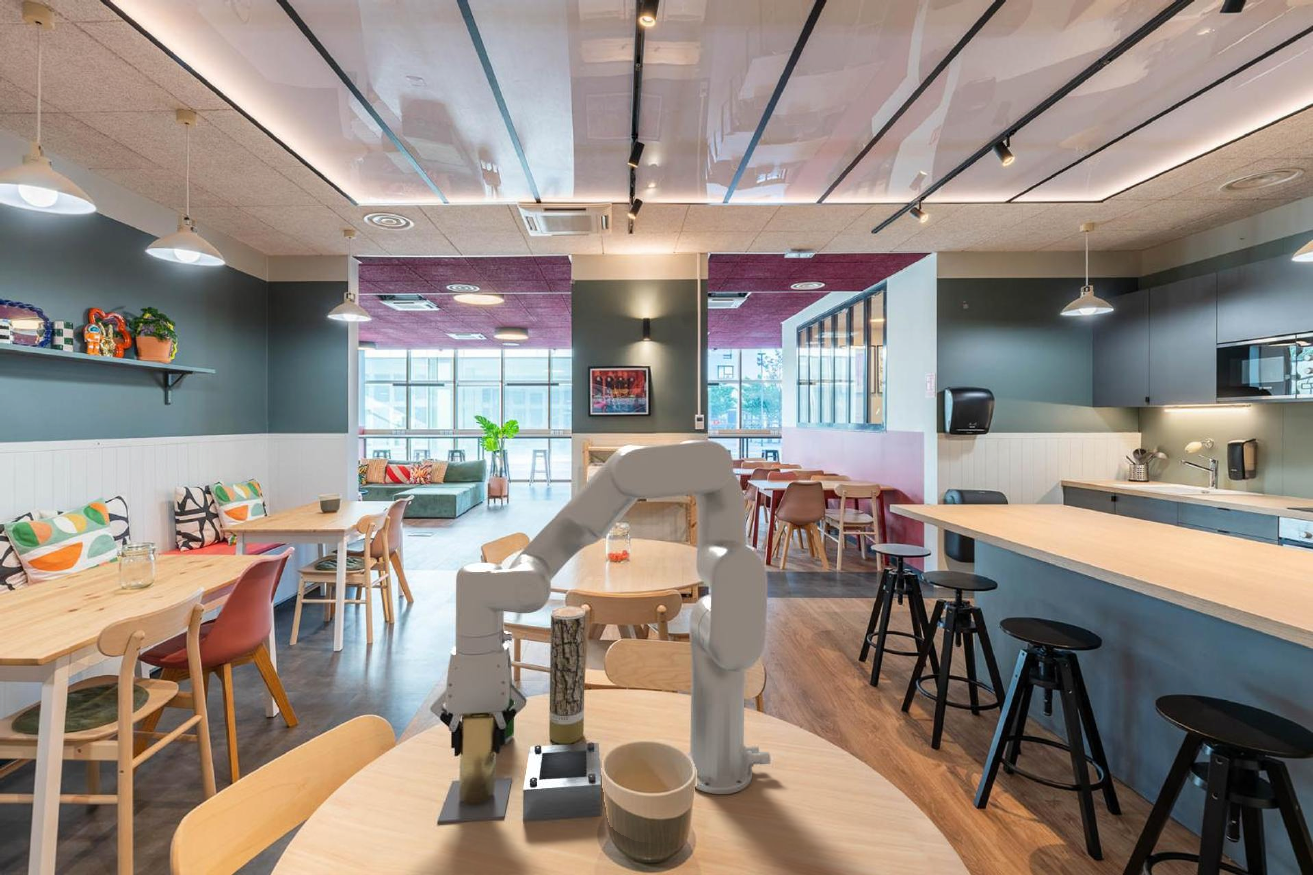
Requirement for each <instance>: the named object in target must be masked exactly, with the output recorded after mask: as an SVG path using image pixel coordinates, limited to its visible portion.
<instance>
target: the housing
mask: <svg viewBox="0 0 1313 875" xmlns="http://www.w3.org/2000/svg"><path fill="white" fill-rule="evenodd" d="M529 748H530V749H529V754H528V760H527V766H526V773H525V779H524V783H523V788H522V789H523V791H522V793H523V794H522V795H523V796H522V806H523V807H522V822H535V821H536V822H537V821H549V820H550V821H551V820H563V819H575V818H577V819H578V818H589V817H590V818H591V817H600V816H601V810H602V809H601V806H602V805H601V801H602V800H601V799H602V797H601V796H602V795H601V794H602V793H601V792H602V791H601V790H602V781H601V779H602V778H601V763H600V762H601V759H600V743H599V742H593V741H592V742H586V743H571V744H554V745H540V744H539V745H535V746H530V747H529Z"/></svg>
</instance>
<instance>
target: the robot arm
mask: <svg viewBox="0 0 1313 875" xmlns="http://www.w3.org/2000/svg"><path fill="white" fill-rule="evenodd" d="M693 495H694V498H695V501H696V504H697V523H698V524H697V526H698V527H697V548H696V550H697V551H696V564H695V565H696V567H695V568H696V571H697V574H698V577H699V579H700V580H701V582H703V583H704V585H706V587H708V588H709V590H710V593H709V594H705V595H704V596H702V597H700V598H699V599H698V600H697V601H696V602H695V604H694V605H693V607H692V610H691V611H690V615H689V620H688V629H689V630H688V632H689V635H688V636H689V644H690V654H691V655H690V656H691V657H690V658H691V686H690V687H691V689H690V743H689V744H690V745H689V747H690V749H689V753H687V754H686V755H688V756H690V758H691V760H693V762H694V764H695V767H696V769H697V786H696V788H695V789H697V791H698V790H699V791H701V792H704V793H707V794H713V795H730V794H733V793H734V794H735V793H737V792H740V791H741V790H744V789H745V788H746V787H748V786H749V785H750V783H751V781H752V779H753V767H754V765H770V764H771V755H770V752H769V751H760V750H759V746H757V745H756V746H747V747H746V745H745V742H744V741H745V740H744V738H745V694H746V693H745V692H746V671H748V670H749V669H751V668H752V667H754V665H755V664H756V663H757V662H758V661H759V660H760V658H761V656H762V654H763V652H764V649H765V644H766V632H767V631H766V630H767V612H768V611H767V610H768V609H767V608H768V576H767V570H766V567H765V565H764V563H763V561H762V559H761V558H760V555H758V553H757V552H755V551H754V550H753V549H752V548H750V547H749V546H747V525H746V524H747V522H746V520H747V518H746V515H747V514H746V512H747V511H746V501H745V495H744V493H743V488H742V485H741V483H740V481H739V479H738V477H737V475H736V474H735V472H734V461H733V457H732V454H731V453H730V451H729V450H728V449H727V448H726V447H725V446H724V445H722V444H721V443H718V442H716V441H713V440H706V439H704V440H703V439H689V440H684V441H682V442H680V443H675V444H662V445H661V444H660V445H659V444H658V445H636V444H628V445H625V446H624V445H623V446H622V447H620V448H619V449H617V450H616V451H614V453H613V454H611V456H610V457H609V458H608V459H607V460H606V461H605V462H604V463H603V464H602V465H601V466H600V467H599V469H598V470H597V471H596V472H595V473H594V474H593V475H592V476H591V477H590V478H589V479H588V481H587V482H586V483H585V484H584V485H582V488H580V490H578V492H576V494H575V495H574V496H573V497H572V498H571V499H570V500H569V501H568V502H567V504H565V505H564V506H563V507H562V508H561V509H560V511H558V512H557V514H556V515H555V516H554V517H553V518H552V519H551V520H550V521H549V522H548V523H547V524H546V525H545V526H544V527H543V528H542V529H541V530H540V531H539V532H538V533H537V534H536V535H535V537H534V538H532V540H531V541H530V542H529V543H528V545H527V546H525V547H524V549H523V550H522V551H521V552H520V553H519V554H518V555H517V556H516V558H514V560H513V561H512V563H511V564H510V566H509V567H508V569H503V568H502V567H501V565H499V564H498V563H493V562H476V563H470V564H466V565H464V566H461V568H460V569H459V570H458V571H457V572H456V575H455V576H456V578H455V646H453V647H452V650H451V652H450V657H449V661H448V667H447V676H446V686H445V687H446V688H445V690H444V691H443V692H442V693H441V694H440V695H439V696H438V697H437V698H436V699H435V700H434V702H433V703H432V704H431V706H430V707H429V711H430V713H432V714H434V715H435V716H436V718H437V717H438V718H439V720H440V721H441V722H442V723H443V724H444V725H446V727H448V731H449V732H451V734H450V735H451V736H450V740H451V741H450V742H451V743H450V746H451V747H450V748H451V749H454V757H459V756H460V751H461V724H462V714H475V713H494V716H495V718H496V721H497V727H496V729H495V753H496V755H497V754H501V753H500V752H501V749H502V747H503V746H502V745H504V746H506V745H505V742H506V725H507V724H508V723H509V722H510V721H511V720H512V719H513V718H514V719H515V717H516V716H517V714H518V713H520V712H521V711H522V710H523V709H524V708H525V707H526V705H527V702H528V701H527V700H528V699H527V698H526V697H525V696H524V695H523V694H522V693H521V692H520V691H519V690H518V689H517V688H516V687H514V686H513V685H512V679H513V671H512V660H511V654H510V653H511V652H510V647H509V645H508V643H506V642H509V641H510V642H512V641H513V636H514V635H513V631H510V632H508V631H507V630H506V629H505V624H504V622H505V621H504V620H505V619H504V618H505V617H504V615H505V613H504V612H508V613H514V614H532V613H535V612H538V611H539V610H541V609H542V608H544V607H545V606H546V604H548V602H549V599H550V597H551V593H552V585H551V583H552V582H551V581H552V580H553V578H554V577H555V576H556V575H557V574H558V572H560V570H562V568H563V567H564V566H565V565H566V564H567V563H568V562H569V561H570V560H571V559H572V558H573V557H574V556H575V555H576V554H577V553H578V552H580V551H581V550H583V549H584V548H586V547H587V546H591V545H593V544H596V543H598V542H599V541H601V540H603V539H604V538H605V537H606V536H607V535H608V534H609V533H610V532H611V530H612V529H614V527H615V526H616V525H617V524H618V522H619V521H620V520H621V519H622V518H623V516H624V515H625V514H626V513H627V512H628V511H629V509H631V507H632V506H634V504H636V502H638V500H650V499H653V500H654V499H664V498H665V499H666V498H674V497H682V496H683V497H684V496H693ZM510 698H511V699H512V700H513V701H514V705H513V706H511V707H510V708H509V709H508V710H507V711H506V709H507V708H508V706H509V701H510ZM444 704H445V706H444ZM501 746H502V747H501Z"/></svg>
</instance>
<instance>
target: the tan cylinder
mask: <svg viewBox="0 0 1313 875" xmlns="http://www.w3.org/2000/svg"><path fill="white" fill-rule="evenodd" d="M461 722H462V724H461V751H460V755H459V758H460V759H459V780H458V781H459V798H460V800H461V801H463V802H465V803H470V804H474V803H480V802H483V801H486V800H487V799H489V798H490V797H491V796H492V795H493V794H494V791H495V778H496V766H497V765H496V763H497V762H496V761H497V754H496V753H495V729H496V727H497V721H496V718H495V716H494V713H475V714H462V716H461Z"/></svg>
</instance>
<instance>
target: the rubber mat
mask: <svg viewBox="0 0 1313 875" xmlns="http://www.w3.org/2000/svg"><path fill="white" fill-rule="evenodd" d="M512 781H513V776H510V777H508V776H507V777H495V791H494V794H493V795H492V796H491V797H490V798H489V799H487V800H486V801H483V802H480V803H474V804H470V803H465V802H463V801H461V800H460V798H459V780H452V781H451V784H450V786H449V790H448V791H447V792H448V793H447V795H446V797H445V800H444V802H443V806H442V807H441V809H440V810H441V811H440V813H439V816H438V818H437V822H436V823H437V824H448V823H449V824H450V823H451V824H452V823H462V822H474V821H475V822H478V821H488V820H489V821H492V820H500V819H501V820H503V819H505V815H506V811H507V805H508V802H509V796H510V792H511V786H512Z"/></svg>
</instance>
